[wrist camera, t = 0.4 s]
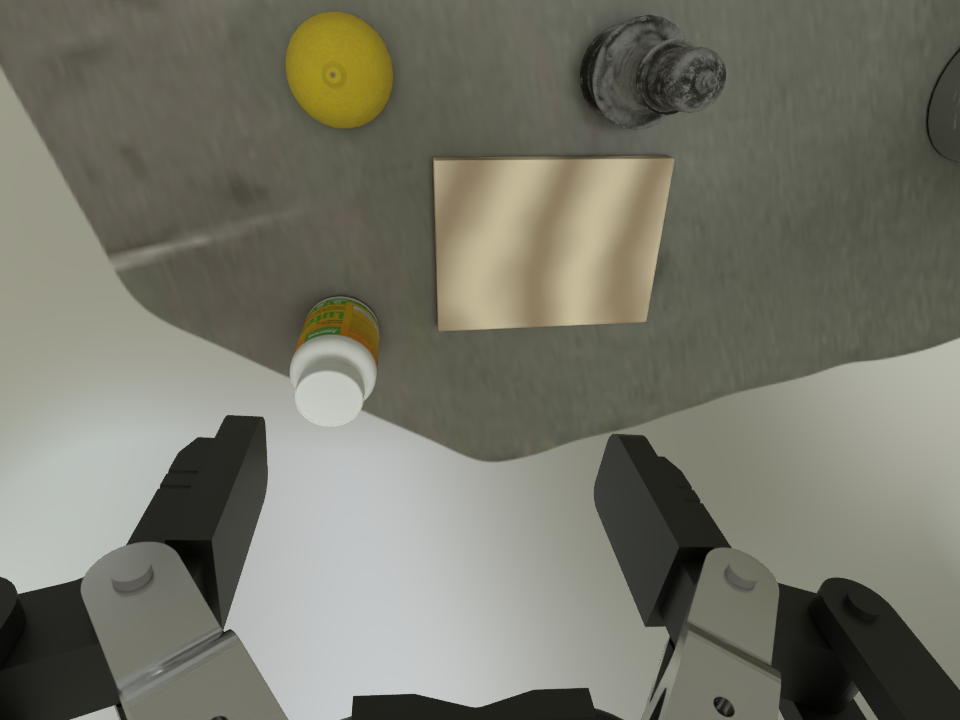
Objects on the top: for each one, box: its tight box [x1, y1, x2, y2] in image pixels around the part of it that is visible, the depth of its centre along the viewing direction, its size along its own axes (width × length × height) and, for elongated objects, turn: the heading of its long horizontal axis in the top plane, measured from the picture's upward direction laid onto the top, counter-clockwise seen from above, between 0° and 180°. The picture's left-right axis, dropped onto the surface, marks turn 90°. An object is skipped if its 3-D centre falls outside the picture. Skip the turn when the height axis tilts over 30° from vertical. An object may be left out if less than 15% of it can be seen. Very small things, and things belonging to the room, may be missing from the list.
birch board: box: [433, 155, 675, 331], centre depth 40 cm, size 16×12×1 cm
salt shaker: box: [580, 15, 726, 130], centre depth 30 cm, size 6×6×12 cm
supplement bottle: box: [290, 296, 379, 427], centre depth 37 cm, size 5×5×10 cm
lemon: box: [285, 11, 393, 129], centre depth 30 cm, size 6×6×8 cm
